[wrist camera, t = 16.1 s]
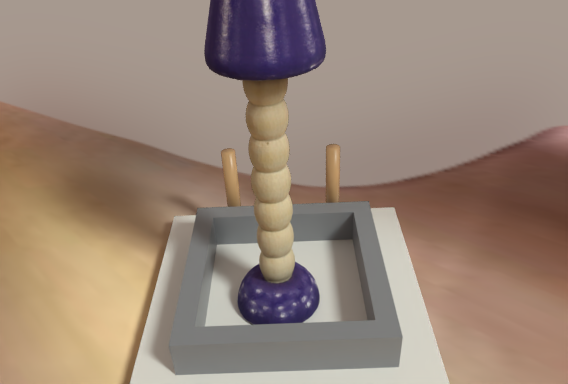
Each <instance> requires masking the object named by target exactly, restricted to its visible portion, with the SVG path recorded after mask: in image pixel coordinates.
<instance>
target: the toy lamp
mask: <svg viewBox="0 0 568 384" xmlns="http://www.w3.org/2000/svg"><path fill="white" fill-rule="evenodd" d="M325 54H326V45H325V39H324V35H323V31H322V27H321V23H320V19H319V15H318V10H317V7H316V2H315V0H211V1H210V9H209V17H208V24H207V33H206V40H205V61H206V64H207V66H208V67H209V69H211V70H212V71H213V72H215V73H217V74H219V75H221V76H224V77H229V78H232V79H237V80H243V88H244V91H245V94H246V97H247V98H248V100H249V102H248V105H247V108H246V123H247V127H248V129H249V131H250V133H251V137H250V140H249V156H250V159H251V162H252V164H253V166H254V167H253V170H252V174H251V185H252V190H253V192H254V194H255V196H256V199H255V203H254V215H255V218H256V221H257V223H258V224H259V226H258V229H257V242H258V246H259V248H260V250H261V253H260V257H259V264H257V265H256V266H254V267H253V268H252V269H251V270H250V271H249V272H248V273H247V274H246V275H245V277H244V278H243V280H242V282H241V285H240V288H239V292H238V301H237V302H238V308H239V310H240V313H241V314H242V316H243V317H244V318H245V319H246V320H247V321H248V322H250V323H252V324H254V325H257V324H284V323H303V322H304V321H306V320H307V319H309V318H310V317H311V316H312V315H313V314H314V312H315V311H316V310H317V308H318V305H319V302H320V294H319V289H318V286H317V284H316V281H315V279H314V277H313V276H312V274H311V273H310V272H309V271H308V270H307V269H306V268H305V267H303V266H302V265H300V264H298V263H297V262H295V256H294V253H293V250H292V245H293V240H294V232H293V228H292V225H291V223H290V221H291V218H292V214H293V206H292V201H291V198H290V196H289V194H288V193H289V190H290V186H291V175H290V171H289V168H288V166H287V161H288V158H289V151H290V149H289V142H288V138H287V135H286V134H285V131H286V129H287V125H288V118H289V115H288V108H287V105H286V102H285V101H284V99H283V98H284V96H285V94H286V91H287V84H288V78H289V77H294V76H298V75H301V74H304V73H307V72H309V71H311V70H313V69H316V68H317V67H318V66H319V65H320V64H321V63H322V62H323V61H324V58H325Z"/></svg>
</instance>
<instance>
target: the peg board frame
mask: <svg viewBox="0 0 568 384" xmlns="http://www.w3.org/2000/svg"><path fill="white" fill-rule="evenodd" d="M221 156H222V164H223V172H224V180H225V188H226V196H227V204H228V207H212V208H197V213H196V215H191V216H174V220H173V223H172V227H171V231H170V235H169V238H168V242H167V246H166V250H165V253H164V257H163V261H162V265H161V268H160V272H159V276H158V280H157V283H156V287H155V291H154V295H153V298H152V302H151V306H150V310H149V313H148V317H147V321H146V324H145V328H144V332H143V336H142V339H141V343H140V347H139V351H138V354H137V358H136V362H135V366H134V369H133V373H132V377H131V381H130V384H449V380H448V377H447V374H446V371H445V368H444V365H443V361H442V358H441V355H440V352H439V349H438V345H437V342H436V339H435V336H434V333H433V330H432V326H431V323H430V320H429V317H428V314H427V310H426V307H425V304H424V301H423V298H422V295H421V291H420V288H419V285H418V282H417V279H416V275H415V272H414V269H413V266H412V263H411V259H410V256H409V253H408V250H407V247H406V244H405V240H404V237H403V234H402V231H401V228H400V224H399V221H398V218H397V215H396V212H395V209H394V207H391V208H370V204H369V201H361V202H339V179H340V146H339V145H337V144H330V145H327V146H326V203H311V204H292V206H293V214H292V218H291V221H290V223H291V225H292V228H293V232H294V240H293V245H292V250H293V253H294V256H295V262H297V263H298V264H300V265H302V266H303V267H305V268H306V269H307V270H308V271H309V272H310V273H311V274H312V276H313V277H314V279H315V281H316V284H317V286H318V289H319V294H320V302H319V305H318V308H317V310H316V311H315V312H314V314H313V315H312V316H311V317H310V318H309V319H307V320H306V321H304V322H303V323H284V324H257V325H254V324H252V323H250V322H248V321H247V320H246V319H245V318H244V317H243V316H242V314H241V313H240V310H239V308H238V302H237V301H238V292H239V288H240V285H241V282H242V280H243V278H244V277H245V275H246V274H247V273H248V272H249V271H250V270H251V269H252V268H253V267H254V266H256V265H257V264H259V257H260V253H261V250H260V248H259V246H258V242H257V229H258V226H259V224H258V223H257V221H256V218H255V215H254V206H241V202H240V193H239V183H238V174H237V165H236V156H235V150H234V149H231V148H228V149H224V150H222V151H221Z"/></svg>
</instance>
